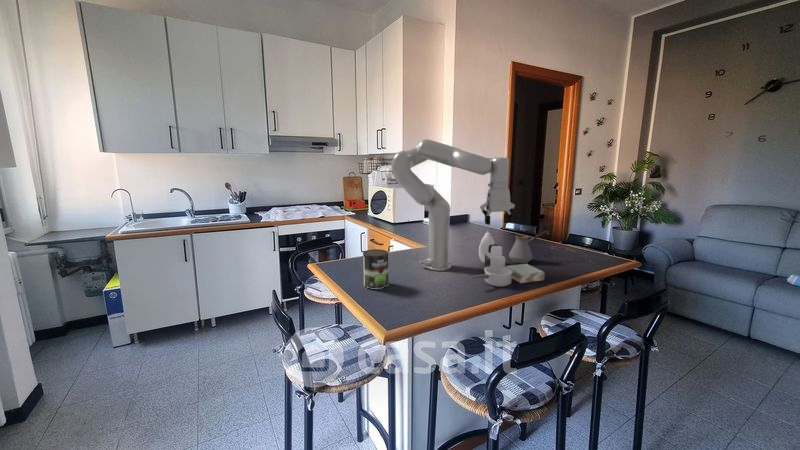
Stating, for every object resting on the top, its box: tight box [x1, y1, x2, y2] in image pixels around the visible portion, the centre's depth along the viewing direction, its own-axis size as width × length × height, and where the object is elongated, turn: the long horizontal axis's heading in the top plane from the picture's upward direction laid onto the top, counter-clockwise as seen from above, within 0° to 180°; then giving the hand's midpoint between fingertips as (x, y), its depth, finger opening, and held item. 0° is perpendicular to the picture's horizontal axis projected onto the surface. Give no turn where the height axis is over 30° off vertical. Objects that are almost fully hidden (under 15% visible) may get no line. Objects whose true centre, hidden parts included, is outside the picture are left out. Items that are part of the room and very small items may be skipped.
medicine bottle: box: [484, 243, 506, 269], centre depth 154 cm, size 7×7×12 cm
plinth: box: [505, 263, 546, 284], centre depth 146 cm, size 12×12×4 cm
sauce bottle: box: [478, 231, 495, 264], centre depth 164 cm, size 8×8×18 cm
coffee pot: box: [508, 230, 550, 264], centre depth 169 cm, size 21×12×15 cm, turn 106°
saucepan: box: [471, 266, 513, 288], centre depth 137 cm, size 12×20×6 cm, turn 120°
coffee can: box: [362, 248, 389, 289], centre depth 136 cm, size 10×10×14 cm
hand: (496, 223), depth 151 cm, fingers open, 9 cm apart
